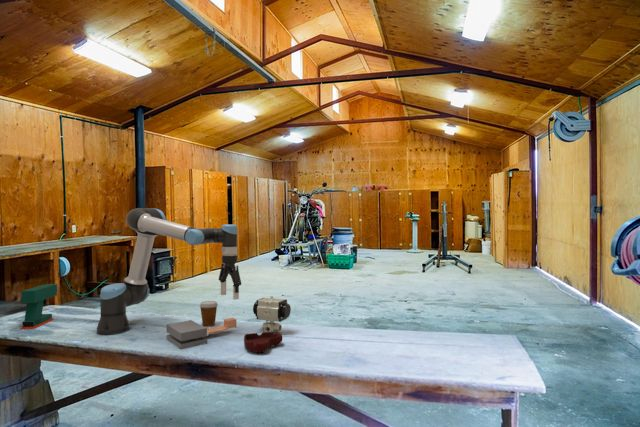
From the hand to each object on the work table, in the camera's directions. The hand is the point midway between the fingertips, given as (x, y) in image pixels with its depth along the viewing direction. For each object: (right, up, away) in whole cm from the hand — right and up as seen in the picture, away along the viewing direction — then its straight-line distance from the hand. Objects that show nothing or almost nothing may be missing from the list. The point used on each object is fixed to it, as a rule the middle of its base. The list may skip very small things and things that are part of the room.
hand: (229, 297), depth 201 cm
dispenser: (-17, -18, -14) cm, 28 cm away
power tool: (-110, -19, +24) cm, 114 cm away
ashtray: (+19, -18, -24) cm, 35 cm away
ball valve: (+21, -18, -1) cm, 28 cm away
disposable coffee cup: (-14, -18, +14) cm, 27 cm away
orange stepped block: (-4, -15, -4) cm, 16 cm away
